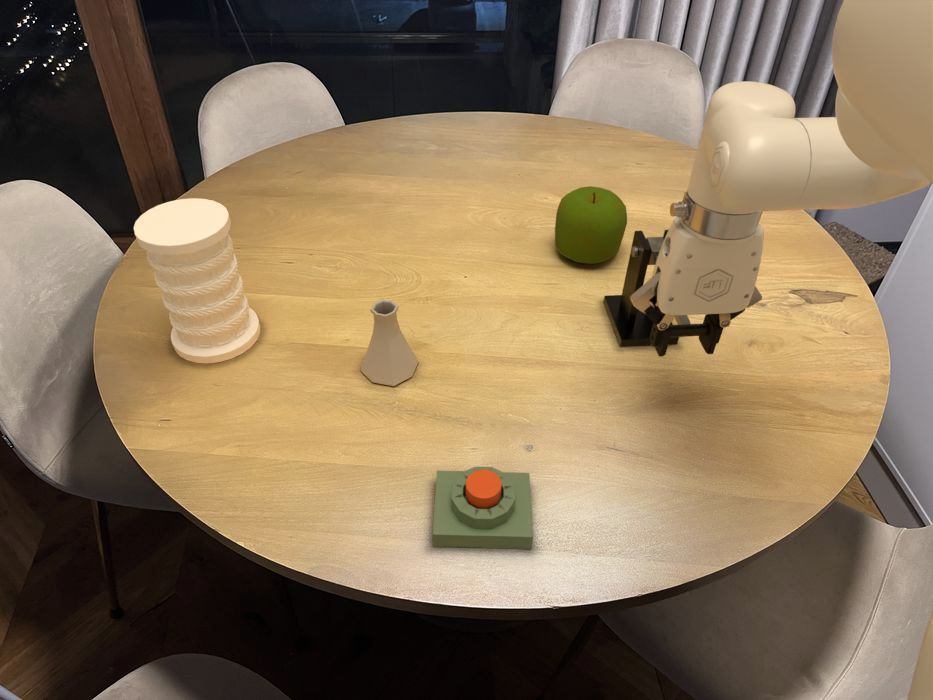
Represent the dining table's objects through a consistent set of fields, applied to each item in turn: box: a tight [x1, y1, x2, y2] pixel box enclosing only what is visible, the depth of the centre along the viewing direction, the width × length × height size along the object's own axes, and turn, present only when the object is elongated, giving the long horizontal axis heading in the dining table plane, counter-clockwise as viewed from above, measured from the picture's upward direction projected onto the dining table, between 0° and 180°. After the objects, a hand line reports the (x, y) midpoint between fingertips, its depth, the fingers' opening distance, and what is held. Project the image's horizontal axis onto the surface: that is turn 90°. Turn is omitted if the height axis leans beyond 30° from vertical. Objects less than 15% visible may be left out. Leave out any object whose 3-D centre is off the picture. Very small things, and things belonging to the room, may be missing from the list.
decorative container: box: [133, 197, 261, 364], centre depth 87 cm, size 12×12×18 cm
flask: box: [359, 298, 420, 387], centre depth 85 cm, size 7×7×10 cm
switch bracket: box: [603, 229, 680, 347], centre depth 91 cm, size 10×8×14 cm
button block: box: [432, 466, 534, 550], centre depth 70 cm, size 10×8×4 cm
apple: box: [554, 185, 628, 265], centre depth 105 cm, size 11×11×11 cm
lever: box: [645, 236, 710, 338], centre depth 84 cm, size 16×5×2 cm, turn 5°
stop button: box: [466, 470, 502, 508], centre depth 69 cm, size 4×4×2 cm
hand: (682, 346), depth 80 cm, fingers closed on lever, 5 cm apart
